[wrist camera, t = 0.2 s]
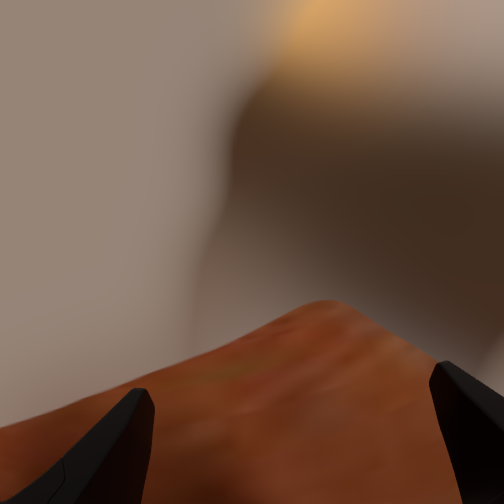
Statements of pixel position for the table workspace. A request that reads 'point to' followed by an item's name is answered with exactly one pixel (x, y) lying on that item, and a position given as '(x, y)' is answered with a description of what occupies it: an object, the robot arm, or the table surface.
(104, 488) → the robot arm
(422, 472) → the table surface
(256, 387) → the table surface
